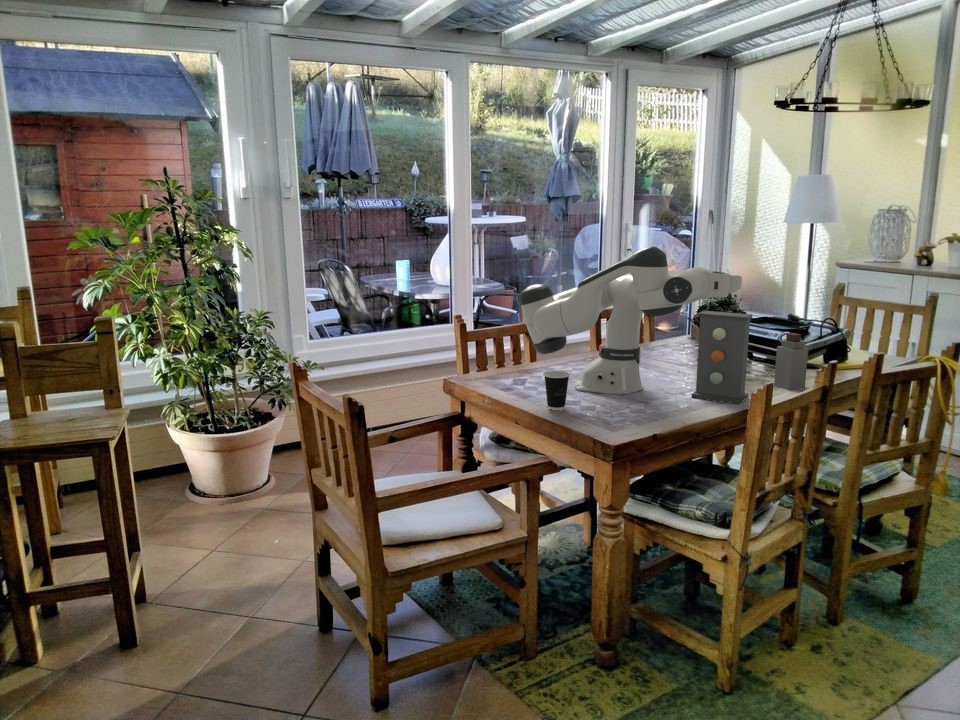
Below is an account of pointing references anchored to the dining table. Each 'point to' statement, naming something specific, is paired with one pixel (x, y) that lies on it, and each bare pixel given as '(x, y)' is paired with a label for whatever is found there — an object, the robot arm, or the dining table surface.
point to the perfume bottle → (791, 363)
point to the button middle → (718, 356)
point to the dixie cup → (556, 388)
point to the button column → (731, 364)
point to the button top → (719, 333)
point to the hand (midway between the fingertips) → (710, 278)
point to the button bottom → (716, 377)
